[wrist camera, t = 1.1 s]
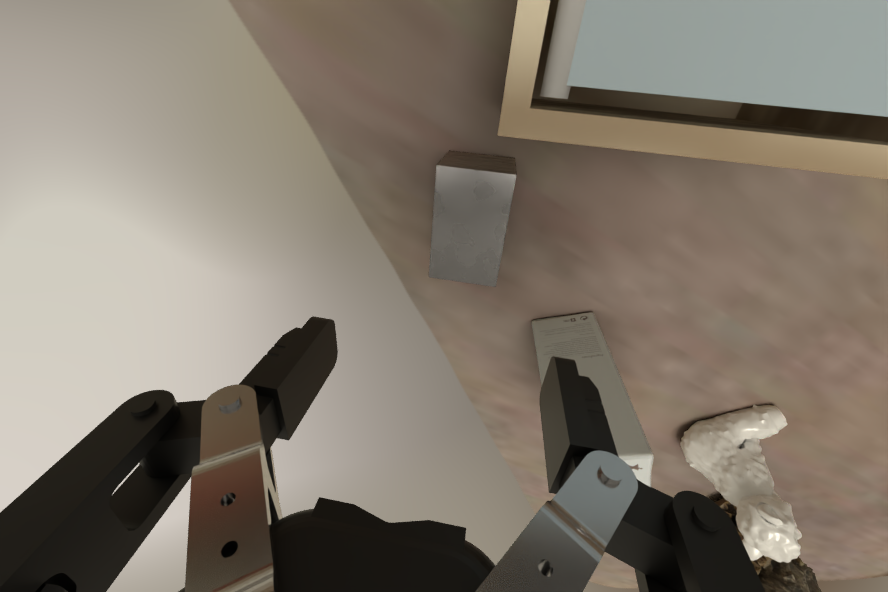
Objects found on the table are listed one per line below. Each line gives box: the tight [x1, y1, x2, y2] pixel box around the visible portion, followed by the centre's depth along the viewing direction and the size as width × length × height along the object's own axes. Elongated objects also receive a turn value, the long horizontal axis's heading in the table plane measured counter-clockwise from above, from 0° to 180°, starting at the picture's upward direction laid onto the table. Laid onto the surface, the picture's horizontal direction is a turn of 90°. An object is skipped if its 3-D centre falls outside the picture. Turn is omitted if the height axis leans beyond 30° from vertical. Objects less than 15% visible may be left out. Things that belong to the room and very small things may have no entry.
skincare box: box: [532, 312, 653, 487], centre depth 28 cm, size 8×6×15 cm
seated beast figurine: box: [680, 405, 802, 563], centre depth 32 cm, size 10×9×12 cm
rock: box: [715, 497, 821, 592], centre depth 40 cm, size 18×14×15 cm
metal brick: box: [429, 150, 517, 287], centre depth 26 cm, size 8×5×6 cm, turn 175°
